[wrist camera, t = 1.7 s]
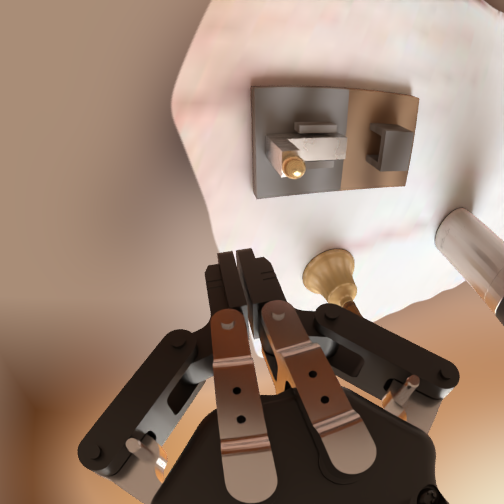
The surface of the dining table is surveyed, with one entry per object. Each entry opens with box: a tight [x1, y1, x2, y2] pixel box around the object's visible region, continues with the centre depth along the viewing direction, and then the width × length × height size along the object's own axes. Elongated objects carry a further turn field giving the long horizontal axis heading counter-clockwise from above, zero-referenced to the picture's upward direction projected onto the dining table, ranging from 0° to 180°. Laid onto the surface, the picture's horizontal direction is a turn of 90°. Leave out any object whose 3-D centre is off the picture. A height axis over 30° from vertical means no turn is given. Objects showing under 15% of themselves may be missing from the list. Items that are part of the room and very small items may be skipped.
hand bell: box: [303, 249, 362, 317], centre depth 38 cm, size 8×8×16 cm
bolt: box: [266, 132, 347, 179], centre depth 27 cm, size 8×2×7 cm, turn 91°
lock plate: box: [251, 86, 419, 199], centre depth 30 cm, size 20×12×5 cm, turn 91°
